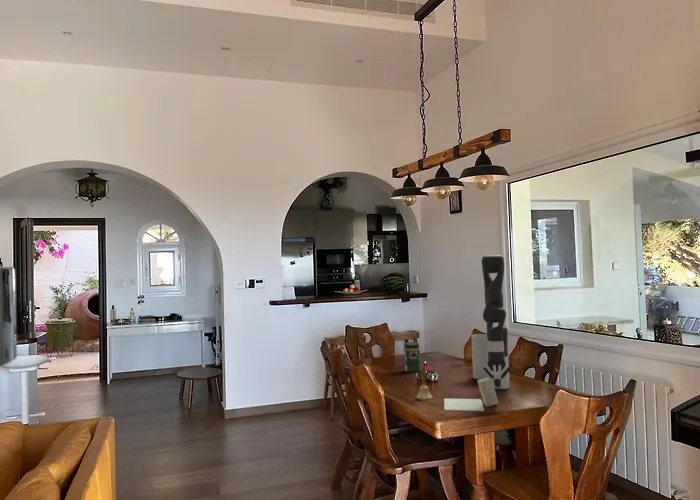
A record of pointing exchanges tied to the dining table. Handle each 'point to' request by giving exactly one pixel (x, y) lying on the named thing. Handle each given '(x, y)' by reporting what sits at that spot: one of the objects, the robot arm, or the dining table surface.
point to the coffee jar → (412, 357)
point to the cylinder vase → (480, 356)
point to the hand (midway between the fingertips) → (497, 386)
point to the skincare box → (487, 391)
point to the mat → (463, 405)
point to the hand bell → (424, 387)
